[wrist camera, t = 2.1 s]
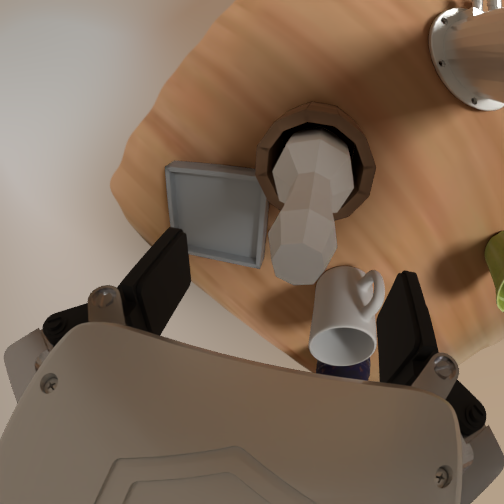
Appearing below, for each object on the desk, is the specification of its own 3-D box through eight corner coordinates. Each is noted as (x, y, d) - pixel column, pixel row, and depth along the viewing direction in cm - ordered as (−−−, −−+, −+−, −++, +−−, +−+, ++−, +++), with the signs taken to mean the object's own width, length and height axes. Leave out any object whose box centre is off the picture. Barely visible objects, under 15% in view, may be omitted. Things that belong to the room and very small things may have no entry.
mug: (349, 315, 42) (347, 373, 34) (305, 293, 42) (295, 351, 33) (398, 266, 35) (411, 325, 26) (351, 236, 35) (354, 295, 26)
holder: (278, 97, 27) (259, 104, 20) (368, 112, 25) (384, 125, 18) (271, 178, 33) (252, 212, 26) (353, 193, 31) (359, 232, 24)
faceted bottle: (350, 125, 27) (392, 216, 9) (340, 177, 31) (346, 326, 13) (293, 114, 28) (228, 183, 10) (287, 166, 32) (225, 300, 14)
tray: (174, 160, 35) (164, 166, 33) (272, 171, 32) (267, 178, 30) (180, 241, 42) (173, 250, 40) (263, 258, 40) (259, 268, 38)
